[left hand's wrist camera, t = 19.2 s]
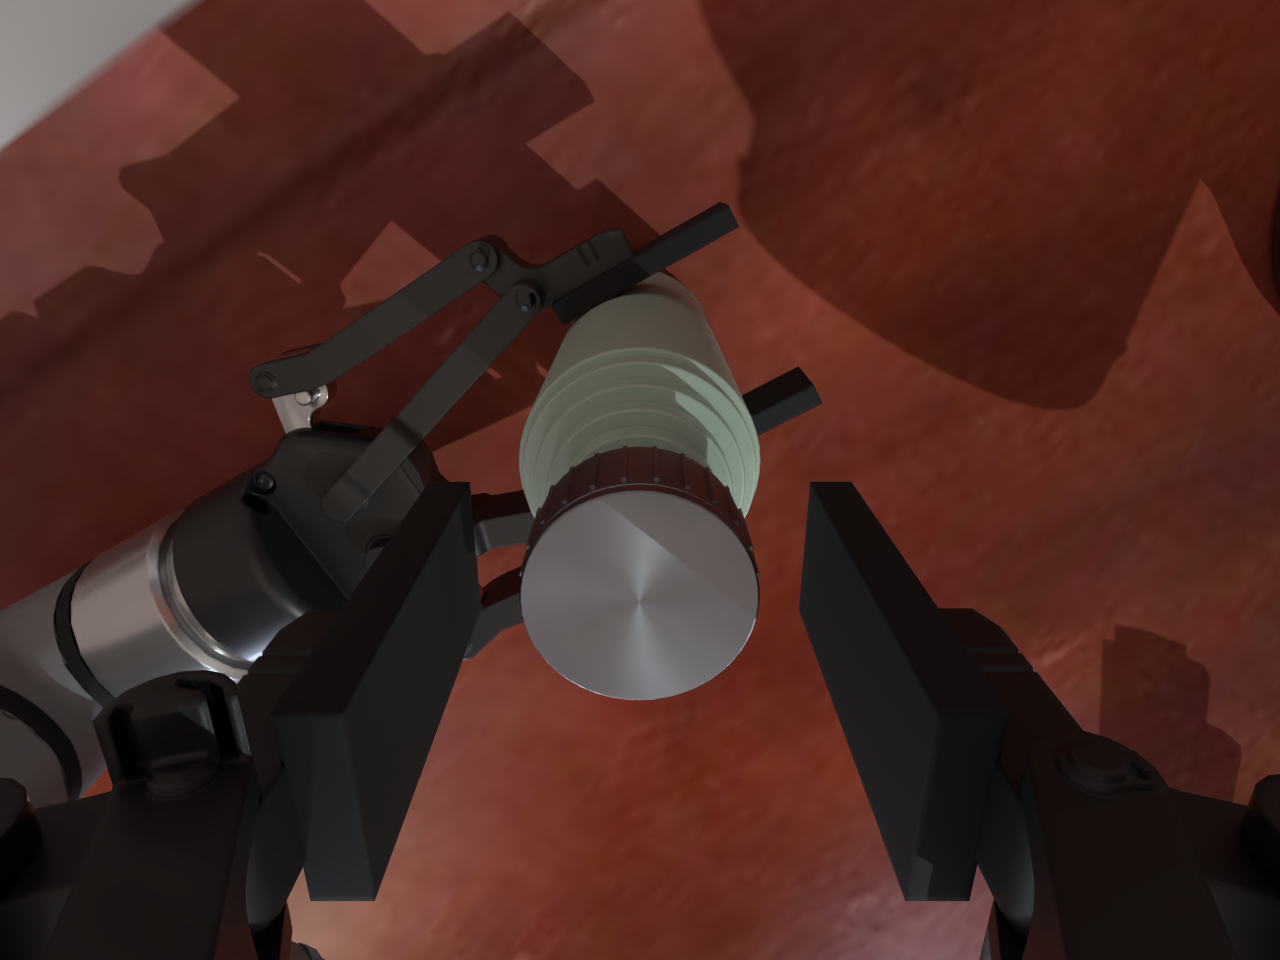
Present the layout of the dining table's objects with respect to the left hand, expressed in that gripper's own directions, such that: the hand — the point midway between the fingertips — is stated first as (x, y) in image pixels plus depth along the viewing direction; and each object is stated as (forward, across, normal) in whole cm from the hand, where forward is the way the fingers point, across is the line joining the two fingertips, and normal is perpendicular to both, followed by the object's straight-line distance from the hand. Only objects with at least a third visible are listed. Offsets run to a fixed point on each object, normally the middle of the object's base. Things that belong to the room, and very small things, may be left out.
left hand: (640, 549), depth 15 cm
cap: (-2, 0, 0) cm, 2 cm away
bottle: (+20, 0, 0) cm, 20 cm away
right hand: (+14, -4, -2) cm, 15 cm away
